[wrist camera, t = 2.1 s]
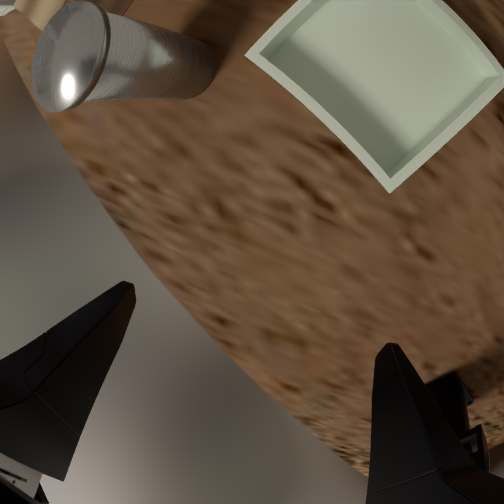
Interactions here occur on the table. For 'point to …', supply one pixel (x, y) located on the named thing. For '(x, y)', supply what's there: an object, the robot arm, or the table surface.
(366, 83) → the tray
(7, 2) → the supplement box
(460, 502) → the robot arm
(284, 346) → the table surface
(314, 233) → the table surface
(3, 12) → the syrup box
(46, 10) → the lidded bin
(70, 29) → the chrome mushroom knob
